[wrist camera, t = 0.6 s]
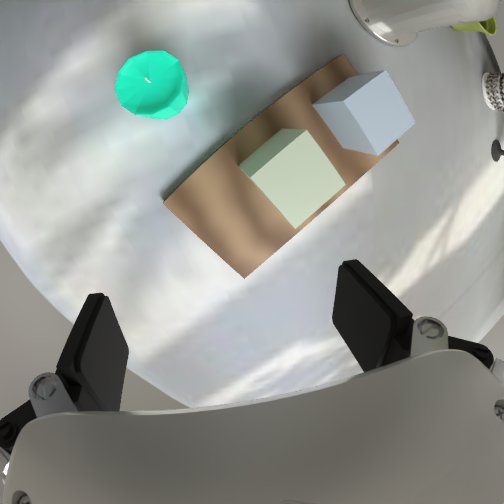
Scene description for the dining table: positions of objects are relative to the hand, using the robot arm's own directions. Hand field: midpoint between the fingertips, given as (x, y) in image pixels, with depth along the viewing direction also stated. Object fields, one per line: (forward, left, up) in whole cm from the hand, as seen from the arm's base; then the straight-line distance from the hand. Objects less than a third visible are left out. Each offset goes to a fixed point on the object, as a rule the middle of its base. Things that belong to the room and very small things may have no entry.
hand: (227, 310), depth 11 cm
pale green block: (-8, +5, -24) cm, 26 cm away
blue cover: (-20, +5, -24) cm, 32 cm away
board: (-10, +6, -25) cm, 28 cm away
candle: (-4, -11, -25) cm, 28 cm away
